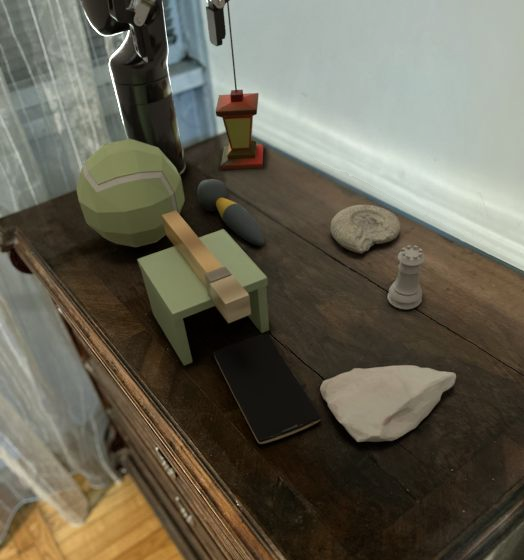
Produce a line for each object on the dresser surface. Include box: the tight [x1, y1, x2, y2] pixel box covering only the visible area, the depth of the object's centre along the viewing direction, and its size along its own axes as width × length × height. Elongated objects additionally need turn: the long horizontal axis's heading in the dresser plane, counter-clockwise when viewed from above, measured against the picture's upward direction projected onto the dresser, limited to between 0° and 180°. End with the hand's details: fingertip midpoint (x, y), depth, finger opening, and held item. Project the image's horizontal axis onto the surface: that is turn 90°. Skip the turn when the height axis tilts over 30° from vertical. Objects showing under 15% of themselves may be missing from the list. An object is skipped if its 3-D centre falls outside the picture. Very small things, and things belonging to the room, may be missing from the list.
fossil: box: [330, 204, 401, 255], centre depth 83 cm, size 11×4×10 cm
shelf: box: [136, 228, 270, 366], centre depth 70 cm, size 12×12×9 cm
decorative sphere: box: [75, 138, 186, 248], centre depth 82 cm, size 15×15×15 cm
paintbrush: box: [196, 178, 266, 247], centre depth 87 cm, size 20×5×5 cm, turn 38°
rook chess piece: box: [387, 244, 425, 311], centre depth 71 cm, size 4×4×8 cm
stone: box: [319, 364, 457, 443], centre depth 60 cm, size 11×4×15 cm
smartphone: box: [213, 332, 322, 445], centre depth 64 cm, size 7×1×15 cm
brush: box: [162, 210, 251, 324], centre depth 65 cm, size 20×3×3 cm, turn 28°
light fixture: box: [215, 1, 265, 170], centre depth 93 cm, size 8×8×30 cm
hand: (183, 52), depth 64 cm, fingers open, 8 cm apart
